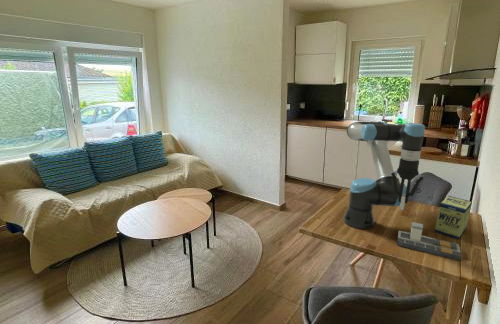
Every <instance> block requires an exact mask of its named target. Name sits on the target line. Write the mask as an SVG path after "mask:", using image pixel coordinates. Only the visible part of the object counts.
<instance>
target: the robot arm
mask: <svg viewBox="0 0 500 324" xmlns="http://www.w3.org/2000/svg"><path fill="white" fill-rule="evenodd" d="M425 129H426V125H424V124H422V123H416V122H409V123H408V122H407V123H405V124H404V123H396V124H389V123H387V122H385V121H365V120H363V121H361V120H360V121H355V122H352V123H350V124H349V125H348V126H347V127H346V136H348V138H349V139H350V140H353V141H359V142H366V144H367V146H368V147H370V150H371V154H372V160H373V164H374V169H375V174H376V178H377V179H376V180H375V179H373V178H369V177H368V178H367V177H366V178H365V177H364V178H363V177H362V178H356V179H354V180H352V182H351V185H350V187H349V188H350V189H349V201H348V207H347V209H346V211H345V213H344V215H343V222H344V223H345V224H346V225H347V226H350V227H353V228H355V229H359V230H362V229H363V230H367V229H368V230H369V229H372V228H373V227H375V226H374V225H375V217H374V214H373V207H374V206H379V207H381V206H384V207H399V210H400V211H404V209H405V204H408V201H409V197H414V195H415V193H416V191H417V189H418V186H419V185H420V182H422V181H423V180H424V175H421V174H420V173H419V164H420V159H421V154H422V153H421V152H422V147H423V142H424V137H425ZM389 142H401V143H402V145H401V151H400V159H399V163H398V164H399V165H398V168H397V169H396V170H394V167H393V163H392V159H391V156H390V151H389V148H388V143H389ZM398 176H399V177H400V179H401V180H400V179H399V178H398ZM415 178H416V180H415V182H414V184H413V187H412V188H411V183H412V180H413V179H415ZM406 180H407V185H406V184H405V181H406ZM410 189H411V190H410Z"/></svg>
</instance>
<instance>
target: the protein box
mask: <svg viewBox="0 0 500 324" xmlns="http://www.w3.org/2000/svg"><path fill="white" fill-rule="evenodd" d="M472 205H473V201H471V200H467V199H464V198H460V197H455V196H451V195H447V196H446V197H445V198H444V200H442V201H441V202H440V204H439V207H438V213H437V218H436V222H435V227H434V233H437V234H440V235H443V236H446V237H449V238H452V239H456V240H460V238H461V237H462V235H463V234H464V232H465V231H466V229H467V224H468V221H469V217H470V212H471V208H472Z"/></svg>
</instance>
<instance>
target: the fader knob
mask: <svg viewBox="0 0 500 324" xmlns="http://www.w3.org/2000/svg"><path fill="white" fill-rule="evenodd" d="M423 230H424V224H423V223H418V222H413V221H412V222H411V229H410V233H411V234H410V240H415V241H419V242H420V240H421V235H422V234H423Z"/></svg>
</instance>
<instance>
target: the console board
mask: <svg viewBox="0 0 500 324" xmlns="http://www.w3.org/2000/svg"><path fill="white" fill-rule="evenodd" d="M410 234H411V232H409V231H405V230H404V231H403V230H400V229H399V230H398V231H397V241H396V246H398V247H402V248H407V249H411V250H414V251H419V252H422V253H427V254H431V255H435V256H439V257H443V258H448V259H451V260H455V261H459V262H460V261H461V259H462V256H461V255H462V254H461V253H462V252H461V248H460V245H459V243H458V242H454V241H449V240H445V239H440V238H436V237H431V236H427V235H424V234H423V235H421V240H420V242H419V241H415V240H410Z"/></svg>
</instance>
